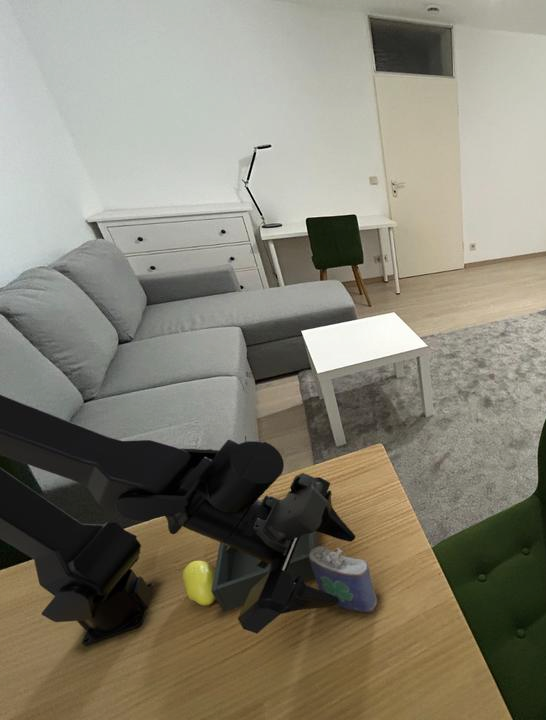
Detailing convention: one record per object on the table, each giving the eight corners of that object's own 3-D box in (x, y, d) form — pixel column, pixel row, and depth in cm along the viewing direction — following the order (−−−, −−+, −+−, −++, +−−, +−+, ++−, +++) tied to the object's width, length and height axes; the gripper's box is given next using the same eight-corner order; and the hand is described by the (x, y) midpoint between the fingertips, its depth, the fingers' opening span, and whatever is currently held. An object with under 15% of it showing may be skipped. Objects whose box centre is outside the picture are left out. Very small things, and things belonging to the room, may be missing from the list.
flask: (380, 599, 57) (369, 552, 52) (369, 619, 54) (356, 573, 49) (327, 580, 59) (311, 534, 54) (314, 599, 57) (296, 553, 52)
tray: (223, 612, 56) (211, 591, 53) (233, 537, 66) (224, 517, 64) (320, 575, 60) (313, 555, 58) (316, 511, 71) (309, 491, 68)
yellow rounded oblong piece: (185, 580, 60) (213, 563, 62) (198, 619, 55) (229, 599, 57) (174, 563, 58) (204, 546, 60) (187, 603, 53) (219, 582, 55)
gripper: (232, 557, 37) (368, 613, 43) (300, 431, 53) (391, 484, 59) (180, 610, 40) (312, 655, 46) (258, 477, 57) (349, 523, 63)
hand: (346, 568), depth 53 cm, fingers open, 9 cm apart
